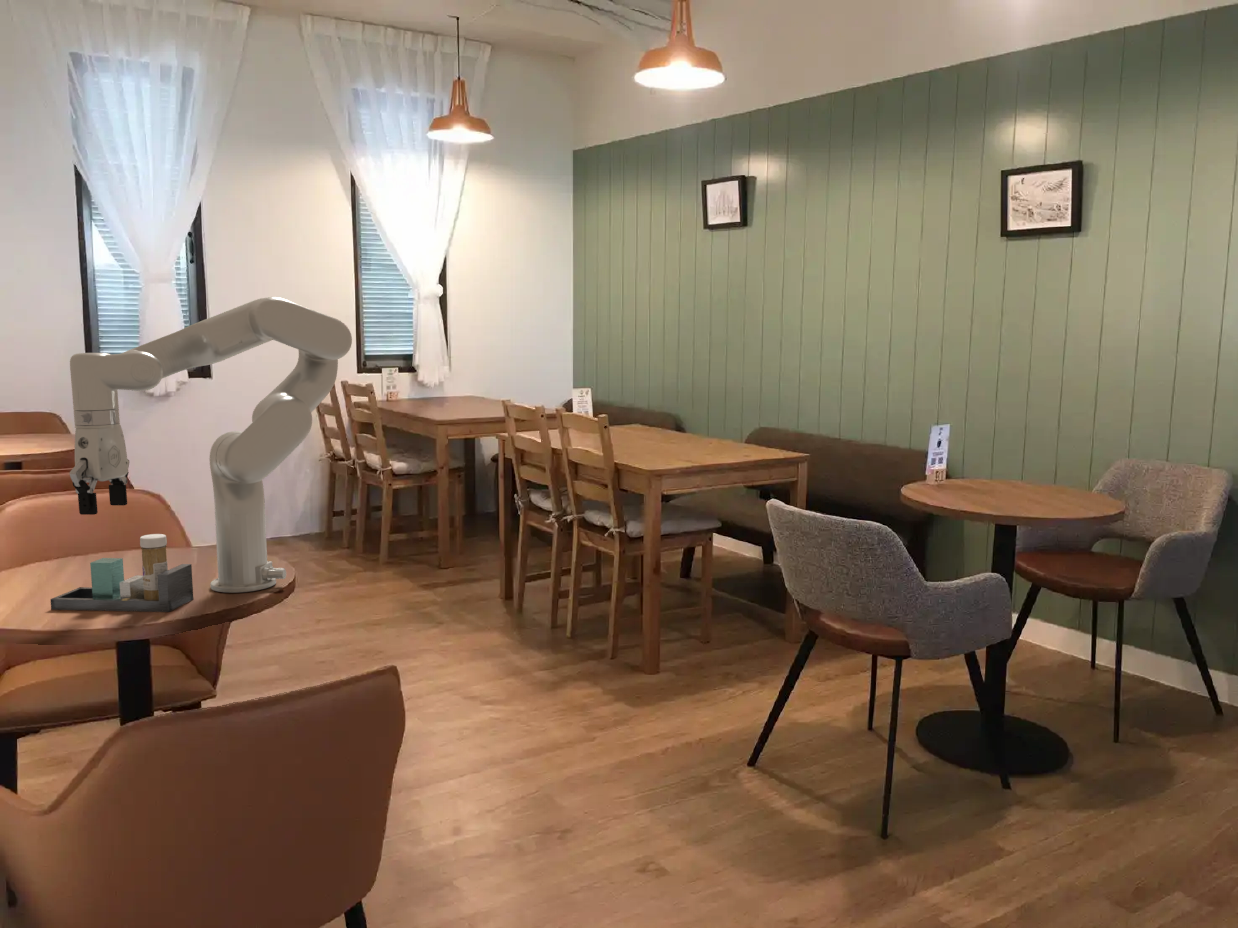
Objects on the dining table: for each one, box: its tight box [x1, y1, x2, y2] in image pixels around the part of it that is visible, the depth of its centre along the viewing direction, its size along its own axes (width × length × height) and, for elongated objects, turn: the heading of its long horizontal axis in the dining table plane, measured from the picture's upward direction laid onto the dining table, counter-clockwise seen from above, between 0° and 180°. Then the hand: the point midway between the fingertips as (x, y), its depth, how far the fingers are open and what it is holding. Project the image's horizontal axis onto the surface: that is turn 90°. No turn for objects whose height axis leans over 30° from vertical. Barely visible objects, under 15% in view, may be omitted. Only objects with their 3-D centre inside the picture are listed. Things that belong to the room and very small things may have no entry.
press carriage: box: [89, 557, 144, 600], centre depth 191 cm, size 8×6×8 cm
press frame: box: [49, 563, 194, 613], centre depth 191 cm, size 23×9×7 cm, turn 85°
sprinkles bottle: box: [139, 533, 169, 600], centre depth 190 cm, size 5×5×13 cm
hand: (104, 509), depth 190 cm, fingers open, 9 cm apart
